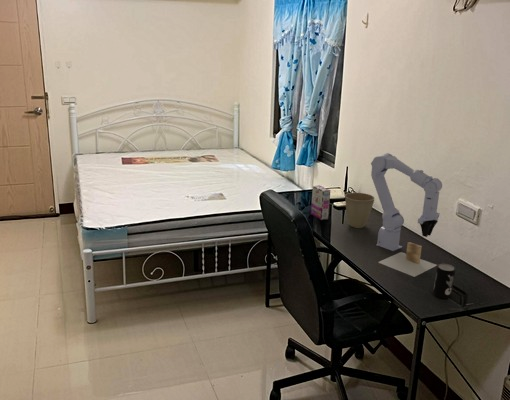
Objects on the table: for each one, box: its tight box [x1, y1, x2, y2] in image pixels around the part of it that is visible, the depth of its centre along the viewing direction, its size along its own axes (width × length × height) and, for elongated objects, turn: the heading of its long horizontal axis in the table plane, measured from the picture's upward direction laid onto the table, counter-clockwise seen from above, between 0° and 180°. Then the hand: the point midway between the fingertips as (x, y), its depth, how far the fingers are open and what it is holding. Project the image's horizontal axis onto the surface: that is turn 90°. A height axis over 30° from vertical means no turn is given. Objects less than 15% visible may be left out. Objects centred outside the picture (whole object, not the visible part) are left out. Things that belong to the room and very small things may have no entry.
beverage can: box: [432, 263, 456, 300], centre depth 188 cm, size 7×7×12 cm
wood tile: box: [405, 241, 423, 264], centre depth 217 cm, size 6×2×8 cm, turn 41°
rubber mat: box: [377, 251, 438, 278], centre depth 216 cm, size 18×18×1 cm
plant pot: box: [344, 192, 376, 229], centre depth 259 cm, size 15×15×16 cm
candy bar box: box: [310, 184, 331, 221], centre depth 271 cm, size 11×5×16 cm, turn 25°
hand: (426, 235), depth 221 cm, fingers open, 2 cm apart
